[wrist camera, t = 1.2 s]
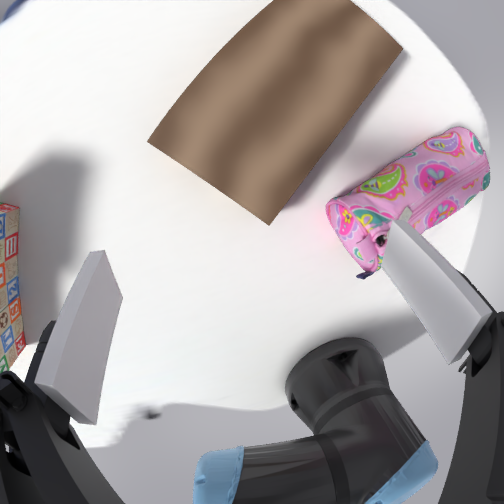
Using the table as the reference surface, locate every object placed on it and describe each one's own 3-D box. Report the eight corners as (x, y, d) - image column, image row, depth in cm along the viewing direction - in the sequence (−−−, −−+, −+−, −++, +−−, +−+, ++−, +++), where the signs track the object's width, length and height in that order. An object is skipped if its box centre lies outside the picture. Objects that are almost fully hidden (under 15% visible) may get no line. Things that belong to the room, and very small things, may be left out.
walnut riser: (384, 57, 24) (403, 48, 20) (261, 216, 29) (269, 225, 25) (299, -11, 20) (310, -28, 17) (155, 144, 25) (146, 141, 21)
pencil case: (339, 264, 32) (378, 299, 23) (307, 195, 29) (345, 211, 20) (454, 185, 31) (501, 197, 22) (436, 124, 28) (486, 124, 19)
